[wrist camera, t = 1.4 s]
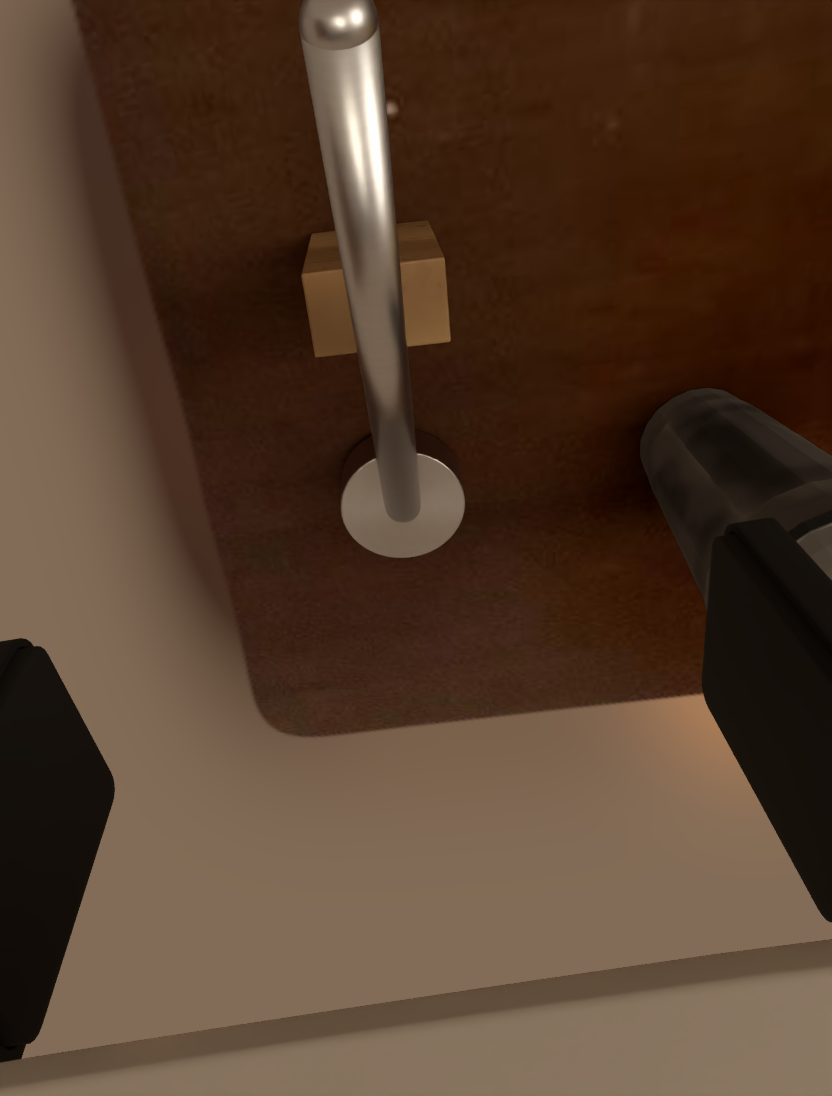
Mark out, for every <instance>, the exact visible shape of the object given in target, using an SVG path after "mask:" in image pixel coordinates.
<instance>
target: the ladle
mask: <svg viewBox="0 0 832 1096" xmlns="http://www.w3.org/2000/svg"><path fill="white" fill-rule="evenodd" d="M299 30H300V36H301V41H302V47H303V52H304V58H305V64H306V69H307V75H308V80H309V86H310V92H311V97H312V103H313V108H314V114H315V119H316V125H317V131H318V136H319V142H320V147H321V153H322V159H323V164H324V170H325V175H326V181H327V186H328V192H329V198H330V203H331V209H332V214H333V220H334V226H335V231H336V237H337V242H338V248H339V253H340V259H341V265H342V270H343V276H344V281H345V287H346V293H347V298H348V304H349V309H350V315H351V320H352V326H353V332H354V337H355V343H356V348H357V354H358V360H359V365H360V371H361V376H362V382H363V387H364V393H365V399H366V404H367V410H368V415H369V421H370V427H371V432H372V436H370V437H369V438H367V439H365V440H364V441H363V442H361V443H360V444H359V445H358V446H357V447H356V448H355V449H354V450H353V451H352V452H351V454H350V455H349V457H348V458H347V460H346V462H345V464H344V467H343V470H342V475H341V506H340V507H341V515H342V519H343V522H344V525H345V527H346V529H347V530H348V532H349V534H350V535H351V536H352V537H353V538H354V539H355V540H356V541H357V542H358V543H359V544H360V545H362V546H363V547H364V548H366V549H368V550H370V551H371V552H374V553H376V554H379V555H383V556H386V557H393V558H409V557H415V556H419V555H423V554H426V553H428V552H431V551H433V550H435V549H436V548H438V547H440V546H441V545H443V544H444V543H445V542H446V541H447V540H449V539H450V538H451V536H452V535H453V534H454V533H455V531H456V530H457V528H458V527H459V525H460V523H461V521H462V518H463V515H464V510H465V495H464V490H463V486H462V482H461V477H460V473H459V469H458V465H457V462H456V460H455V458H454V456H453V455H452V453H451V452H450V450H449V449H448V448H447V447H446V446H445V445H444V444H443V443H442V442H441V441H439V440H438V439H436V438H435V437H433V436H431V435H429V434H427V433H424V432H421V431H418V430H415V429H414V418H413V406H412V395H411V383H410V372H409V361H408V349H407V338H406V326H405V315H404V304H403V292H402V281H401V269H400V258H399V247H398V235H397V224H396V212H395V201H394V190H393V178H392V167H391V155H390V144H389V132H388V121H387V110H386V98H385V87H384V75H383V64H382V53H381V41H380V30H379V19H378V14H377V10H376V7H375V4H374V2H373V0H303V1H302V4H301V7H300V13H299Z"/></svg>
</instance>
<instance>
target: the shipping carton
mask: <svg viewBox="0 0 832 1096" xmlns="http://www.w3.org/2000/svg"><path fill="white" fill-rule="evenodd" d="M397 235H398V247H399V258H400V269H401V281H402V292H403V304H404V315H405V326H406V338H407V347H410V346H419V345H427V344H436V343H444V342H449V341H450V340H451V337H450V324H449V310H448V297H447V283H446V270H445V259H444V256H443V254H442V252H441V249H440V247H439V245H438V243H437V240H436V238H435V236H434V233H433V231H432V229H431V227H430V224H429V222H428V221H427V220H424V221H416V222H407V223H399V224H397ZM301 278H302V284H303V290H304V295H305V301H306V307H307V313H308V319H309V324H310V330H311V336H312V342H313V348H314V353H315V356H316V357H324V356H333V355H342V354H350V353H357V348H356V343H355V337H354V332H353V326H352V320H351V315H350V309H349V304H348V298H347V293H346V287H345V281H344V276H343V270H342V265H341V259H340V253H339V248H338V242H337V237H336V231H330V232H321V233H313V234H311V238H310V242H309V246H308V250H307V254H306V258H305V262H304V266H303V270H302V274H301Z"/></svg>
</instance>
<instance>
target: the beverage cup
mask: <svg viewBox="0 0 832 1096" xmlns="http://www.w3.org/2000/svg"><path fill="white" fill-rule="evenodd" d="M640 458H641V461H642V464H643V467H644V470H645V472H646V473H647V476H648V479H649V482H650V485H651V488H652V491H653V493H654V495H655V497H656V499H657V501H658V503H659V506H660V508H661V510H662V512H663V514H664V516H665V518H666V520H667V522H668V524H669V527H670V529H671V531H672V533H673V535H674V537H675V539H676V541H677V543H678V545H679V547H680V550H681V552H682V554H683V556H684V558H685V560H686V562H687V564H688V566H689V568H690V571H691V573H692V575H693V577H694V579H695V581H696V583H697V585H698V587H699V589H700V591H701V594H702V596H703V598H704V602H705V606H706V609H707V605H708V592H709V578H710V565H711V552H712V543H713V540H714V538H715V537H717V536H723V535H724V531H725V529H726V527H727V526H728V525H729V524H731V523H737V522H743V521H750V520H756V519H762V518H768V517H770V518H774V519H776V520H777V521H778V522H779V523H780V524H781V525H782V526H783V527H784V528H785V530H786V531H787V532H788V533H789V534H790V535H791V536H792V537H793V538H794V539H795V541H796V542H797V543H798V544H799V545H800V546H801V547H802V548H803V549H804V550H805V552H806V553H807V554H808V555H809V556H810V557H811V558H812V559H813V560H814V561H815V563H816V564H817V565H818V566H819V567H820V568H821V569H822V570H823V571H824V572H825V574H826V575H827V576H828V577H829V578H830V579H831V580H832V456H831V455H829V454H828V453H826V452H824V451H823V450H821V449H820V448H818V447H817V446H815V445H814V444H812V443H810V442H809V441H807V440H806V439H804V438H803V437H801V436H800V435H798V434H796V433H795V432H793V431H792V430H790V429H789V428H787V427H785V426H784V425H782V424H781V423H779V422H778V421H776V420H775V419H773V418H771V417H770V416H768V415H767V414H765V413H764V412H762V411H761V410H759V409H757V408H755V407H754V406H752V405H750V404H749V403H747V402H745V401H742V400H739V399H738V398H737V397H735V396H733V395H731V394H730V393H728V392H726V391H724V390H719V389H713V388H702V389H695V390H689V391H687V392H685V393H682V394H680V395H678V396H676V397H673V398H672V399H670V400H669V401H668V402H667V403H665V404H664V405H663V406H662V407H660V408H659V409H658V410H657V411H656V412H655V414H654V415H653V416H652V418H651V419H650V421H649V422H648V423H647V425H646V427H645V430H644V432H643V435H642V438H641V441H640Z"/></svg>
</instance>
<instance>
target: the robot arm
mask: <svg viewBox="0 0 832 1096" xmlns="http://www.w3.org/2000/svg"><path fill="white" fill-rule="evenodd" d="M702 688H703V694H704V698H705V701H706V703H707V706H708V708H709V710H710V712H711V713H712V715H713V717H714V719H715V721H716V722H717V724H718V726H719V728H720V730H721V732H722V734H723V735H724V737H725V739H726V741H727V743H728V744H729V746H730V748H731V750H732V752H733V754H734V756H735V757H736V759H737V761H738V763H739V765H740V767H741V768H742V770H743V772H744V774H745V776H746V777H747V779H748V781H749V783H750V785H751V787H752V789H753V790H754V792H755V794H756V796H757V798H758V799H759V801H760V803H761V805H762V807H763V809H764V811H765V812H766V814H767V816H768V818H769V820H770V822H771V824H772V825H773V827H774V829H775V831H776V833H777V835H778V836H779V838H780V840H781V842H782V844H783V846H784V847H785V849H786V851H787V853H788V854H789V856H790V858H791V860H792V862H793V864H794V866H795V868H796V869H797V871H798V873H799V875H800V876H801V879H802V880H803V882H804V884H805V886H806V888H807V890H808V891H809V893H810V895H811V897H812V899H813V900H814V902H815V904H816V906H817V908H818V910H819V911H820V913H821V914H822V916H823V917H824V918H825V919H826V920H827V921H829V922H832V580H831V579H830V578H829V577H828V576H827V575H826V574H825V572H824V571H823V570H822V569H821V568H820V567H819V566H818V565H817V564H816V563H815V561H814V560H813V559H812V558H811V557H810V556H809V555H808V554H807V553H806V552H805V550H804V549H803V548H802V547H801V546H800V545H799V544H798V543H797V542H796V541H795V539H794V538H793V537H792V536H791V535H790V534H789V533H788V532H787V531H786V530H785V528H784V527H783V526H782V525H781V524H780V523H779V522H778V521H777V520H776V519H774V518H770V517H768V518H762V519H756V520H750V521H743V522H737V523H731V524H729V525H728V526H727V527H726V529H725V531H724V535H723V536H717V537H715V538H714V540H713V543H712V552H711V565H710V578H709V592H708V605H707V618H706V632H705V645H704V659H703V672H702ZM114 792H115V787H114V780H113V776H112V774H111V771H110V770H109V768H108V766H107V764H106V762H105V760H104V758H103V756H102V755H101V753H100V751H99V749H98V747H97V745H96V743H95V742H94V740H93V738H92V736H91V734H90V732H89V730H88V728H87V727H86V725H85V723H84V721H83V719H82V717H81V715H80V713H79V712H78V710H77V708H76V706H75V704H74V702H73V700H72V699H71V697H70V695H69V693H68V691H67V689H66V687H65V685H64V683H63V682H62V680H61V678H60V676H59V674H58V672H57V670H56V669H55V667H54V665H53V663H52V661H51V659H50V657H49V655H48V654H47V652H46V651H45V649H43V648H42V647H39V646H35V647H34V646H33V645H32V643H31V642H29V641H28V640H27V639H22V638H20V639H14V640H8V641H2V642H0V1096H832V939H830V940H822V941H814V942H807V943H799V944H791V945H783V946H775V947H769V948H768V947H767V948H760V949H753V950H744V951H737V952H729V953H721V954H713V955H706V956H699V957H693V958H686V959H679V960H671V961H666V962H658V963H651V964H644V965H637V966H631V967H623V968H616V969H610V970H603V971H596V972H589V973H582V974H575V975H568V976H562V977H555V978H548V979H541V980H534V981H527V982H520V983H513V984H506V985H500V986H493V987H487V988H480V989H473V990H467V991H460V992H453V993H446V994H440V995H433V996H426V997H420V998H413V999H406V1000H400V1001H393V1002H386V1003H380V1004H373V1005H366V1006H360V1007H354V1008H347V1009H340V1010H333V1011H327V1012H321V1013H313V1014H307V1015H300V1016H294V1017H288V1018H281V1019H274V1020H267V1021H261V1022H254V1023H248V1024H241V1025H235V1026H228V1027H222V1028H215V1029H209V1030H203V1031H196V1032H190V1033H184V1034H177V1035H171V1036H164V1037H158V1038H153V1039H145V1040H139V1041H132V1042H126V1043H119V1044H113V1045H107V1046H100V1047H94V1048H88V1049H81V1050H75V1051H68V1052H62V1053H56V1054H49V1055H43V1056H36V1057H30V1058H25V1059H21V1058H22V1055H23V1052H24V1049H25V1046H26V1044H29V1043H31V1042H32V1041H34V1040H35V1039H36V1037H37V1036H38V1034H39V1032H40V1029H41V1027H42V1024H43V1021H44V1018H45V1015H46V1012H47V1008H48V1005H49V1002H50V999H51V996H52V993H53V989H54V986H55V983H56V980H57V977H58V974H59V971H60V967H61V964H62V961H63V958H64V955H65V952H66V948H67V945H68V942H69V939H70V936H71V933H72V930H73V926H74V923H75V920H76V917H77V913H78V910H79V907H80V904H81V901H82V898H83V894H84V891H85V888H86V885H87V882H88V879H89V876H90V873H91V870H92V866H93V863H94V860H95V857H96V854H97V850H98V847H99V844H100V841H101V838H102V835H103V832H104V829H105V825H106V822H107V819H108V816H109V813H110V810H111V806H112V803H113V799H114Z"/></svg>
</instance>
